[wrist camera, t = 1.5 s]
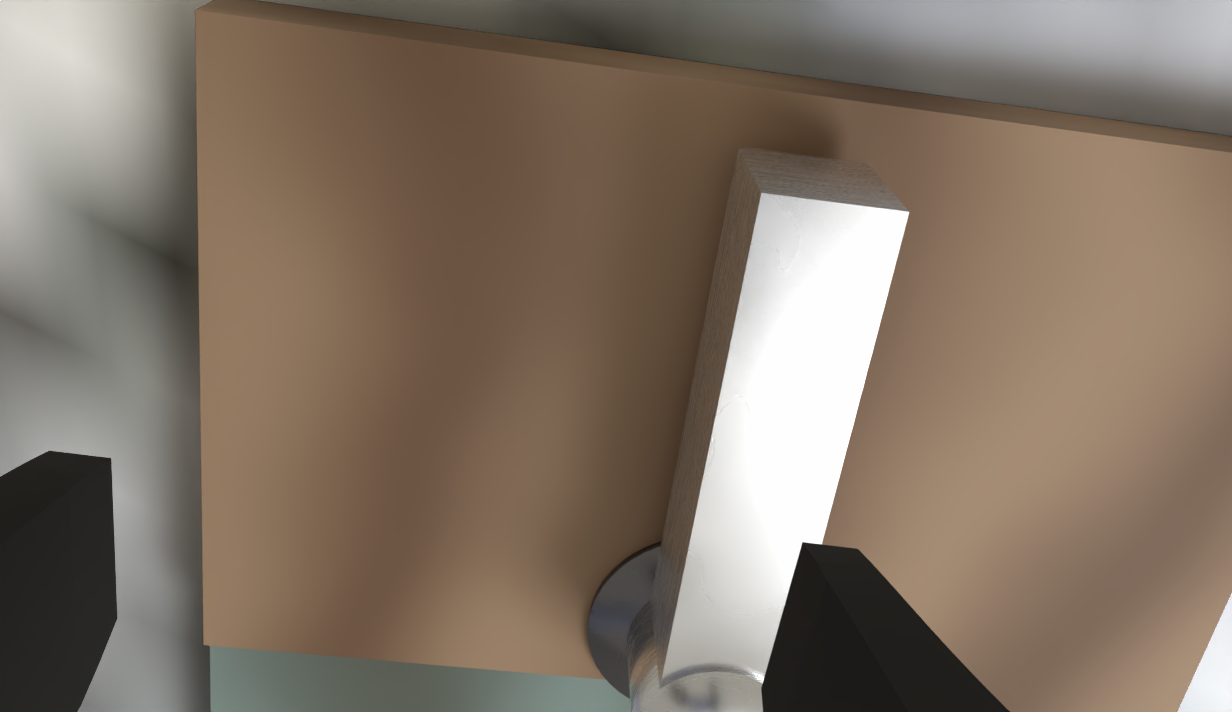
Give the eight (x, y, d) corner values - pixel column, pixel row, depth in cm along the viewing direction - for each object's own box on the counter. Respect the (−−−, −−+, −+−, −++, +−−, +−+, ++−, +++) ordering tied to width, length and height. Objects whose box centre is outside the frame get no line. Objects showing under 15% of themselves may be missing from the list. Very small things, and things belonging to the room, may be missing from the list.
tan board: (225, 957, 27) (208, 1014, 26) (221, -4, 18) (195, 9, 16) (998, 1004, 29) (1017, 1059, 27) (1365, 155, 19) (1420, 178, 18)
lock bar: (752, 702, 22) (774, 806, 19) (616, 690, 21) (622, 794, 19) (887, 165, 17) (935, 218, 15) (717, 143, 17) (740, 194, 15)
